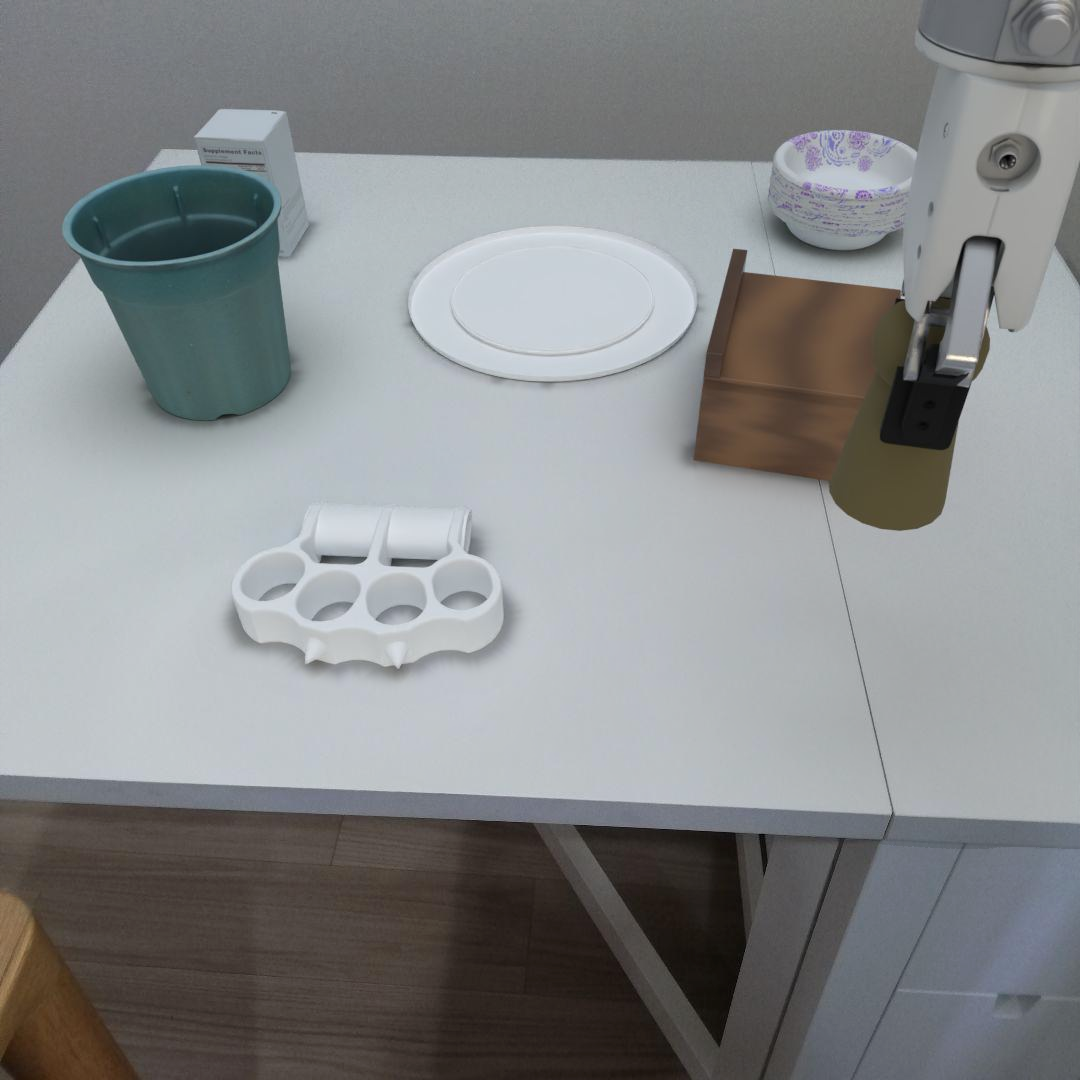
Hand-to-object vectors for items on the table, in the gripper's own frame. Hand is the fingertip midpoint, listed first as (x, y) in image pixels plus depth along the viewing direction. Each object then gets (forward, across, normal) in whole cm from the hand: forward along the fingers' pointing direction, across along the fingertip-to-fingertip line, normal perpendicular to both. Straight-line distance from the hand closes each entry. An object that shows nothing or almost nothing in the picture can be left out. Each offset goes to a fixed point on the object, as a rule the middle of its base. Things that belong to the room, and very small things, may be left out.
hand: (912, 403), depth 48 cm
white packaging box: (+20, +45, +61) cm, 79 cm away
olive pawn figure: (+6, 0, 0) cm, 6 cm away
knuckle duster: (+21, -1, +31) cm, 37 cm away
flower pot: (+20, +20, +54) cm, 61 cm away
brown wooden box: (+21, +26, +4) cm, 34 cm away
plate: (+21, +40, +28) cm, 53 cm away
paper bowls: (+21, +60, +2) cm, 64 cm away
